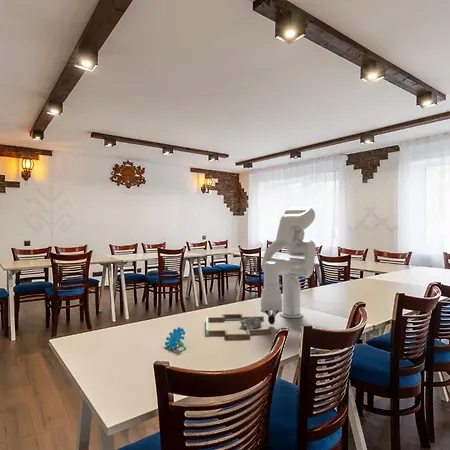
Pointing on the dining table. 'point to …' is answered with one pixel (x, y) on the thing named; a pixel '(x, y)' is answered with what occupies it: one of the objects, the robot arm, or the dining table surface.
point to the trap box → (236, 336)
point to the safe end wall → (206, 326)
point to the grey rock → (250, 323)
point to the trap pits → (232, 319)
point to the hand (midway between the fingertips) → (271, 323)
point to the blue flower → (175, 339)
